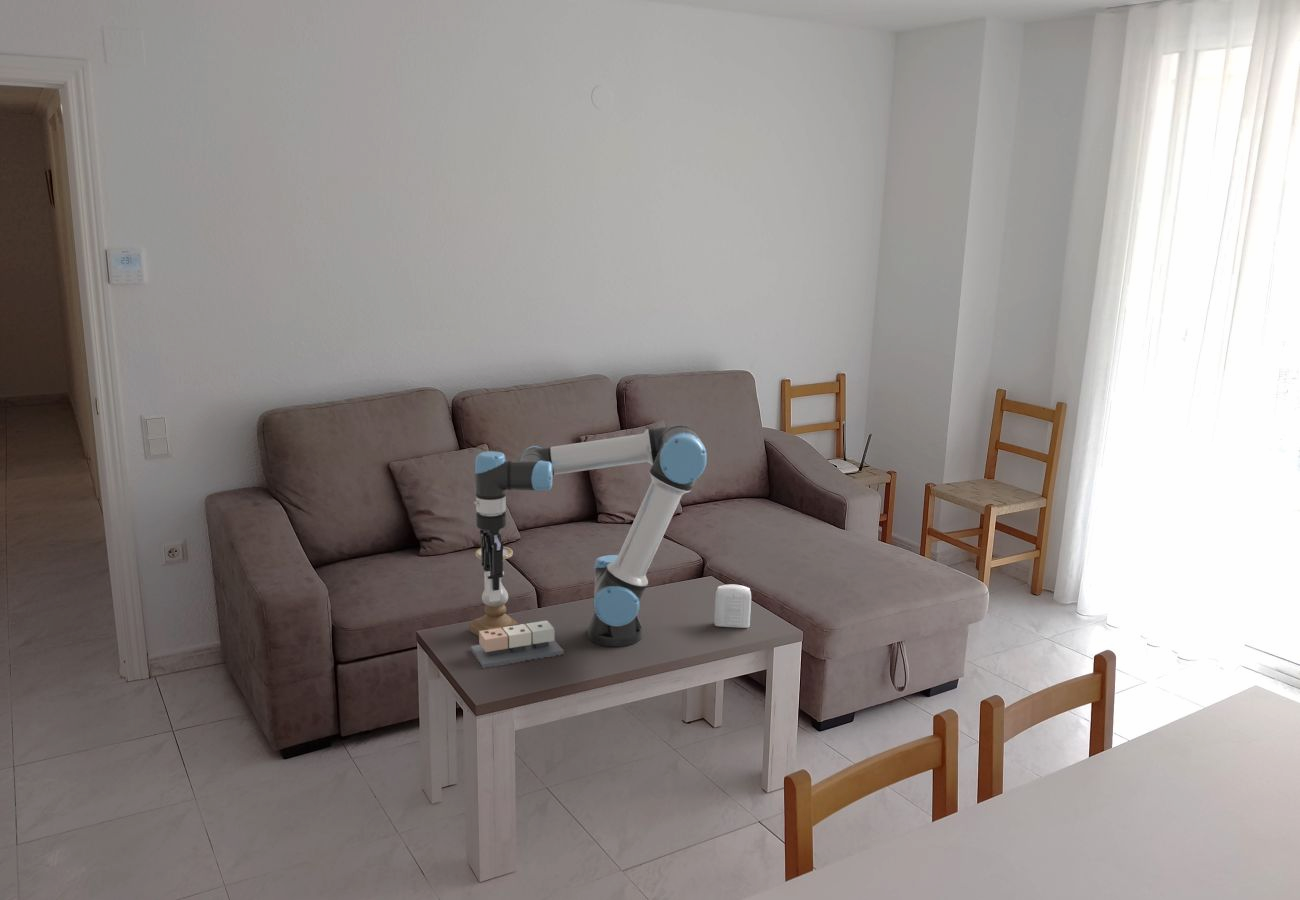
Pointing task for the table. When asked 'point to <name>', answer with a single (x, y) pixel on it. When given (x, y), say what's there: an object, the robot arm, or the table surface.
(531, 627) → the one pip key
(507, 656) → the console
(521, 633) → the two pip key
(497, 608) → the candle holder
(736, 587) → the photo printer
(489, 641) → the three pip key
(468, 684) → the table surface
